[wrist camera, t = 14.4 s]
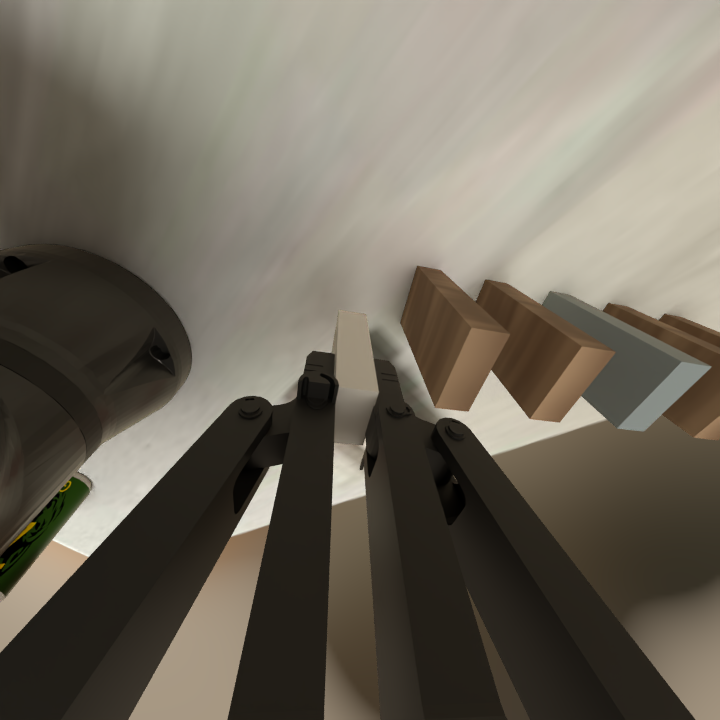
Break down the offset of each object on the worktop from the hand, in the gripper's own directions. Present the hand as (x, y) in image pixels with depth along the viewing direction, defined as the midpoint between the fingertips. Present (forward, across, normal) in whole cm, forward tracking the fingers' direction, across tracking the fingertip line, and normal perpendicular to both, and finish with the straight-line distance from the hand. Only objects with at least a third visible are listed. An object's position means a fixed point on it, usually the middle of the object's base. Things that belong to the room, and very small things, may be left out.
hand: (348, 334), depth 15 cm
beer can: (+9, -29, -30) cm, 43 cm away
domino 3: (+9, +18, 0) cm, 20 cm away
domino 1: (+9, +6, 0) cm, 11 cm away
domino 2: (+9, +12, 0) cm, 15 cm away
